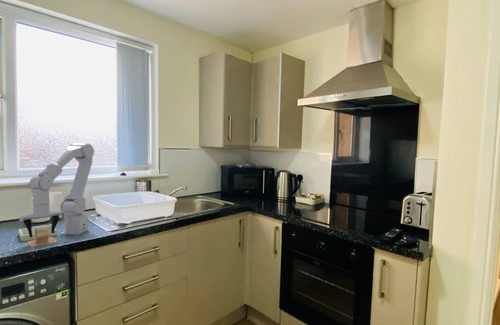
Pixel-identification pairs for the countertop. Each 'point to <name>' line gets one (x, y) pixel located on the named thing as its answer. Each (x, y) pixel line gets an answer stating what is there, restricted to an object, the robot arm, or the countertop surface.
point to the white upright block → (55, 201)
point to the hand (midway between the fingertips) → (42, 234)
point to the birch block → (41, 234)
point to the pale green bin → (25, 234)
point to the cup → (40, 218)
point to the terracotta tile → (33, 243)
